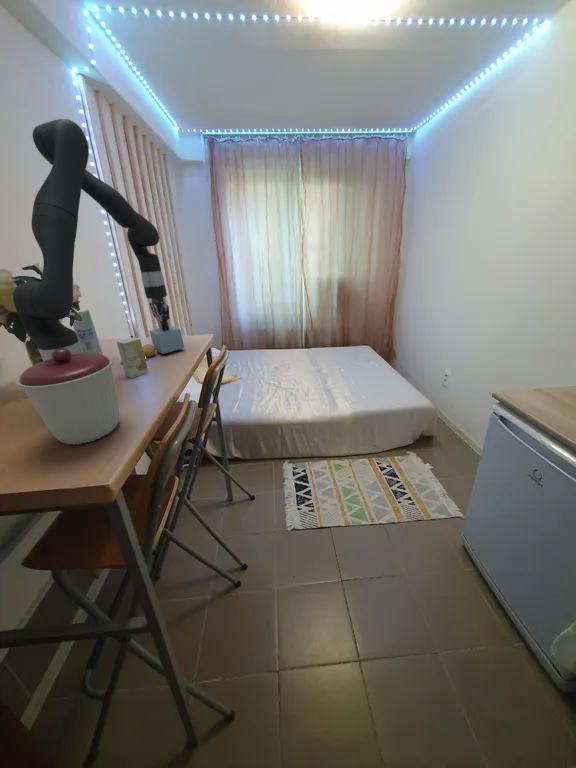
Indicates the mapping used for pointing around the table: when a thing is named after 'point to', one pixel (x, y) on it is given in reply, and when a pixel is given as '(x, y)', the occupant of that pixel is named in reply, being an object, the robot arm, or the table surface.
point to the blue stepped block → (166, 338)
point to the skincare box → (132, 357)
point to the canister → (73, 395)
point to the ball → (148, 350)
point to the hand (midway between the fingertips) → (164, 329)
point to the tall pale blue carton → (87, 333)
